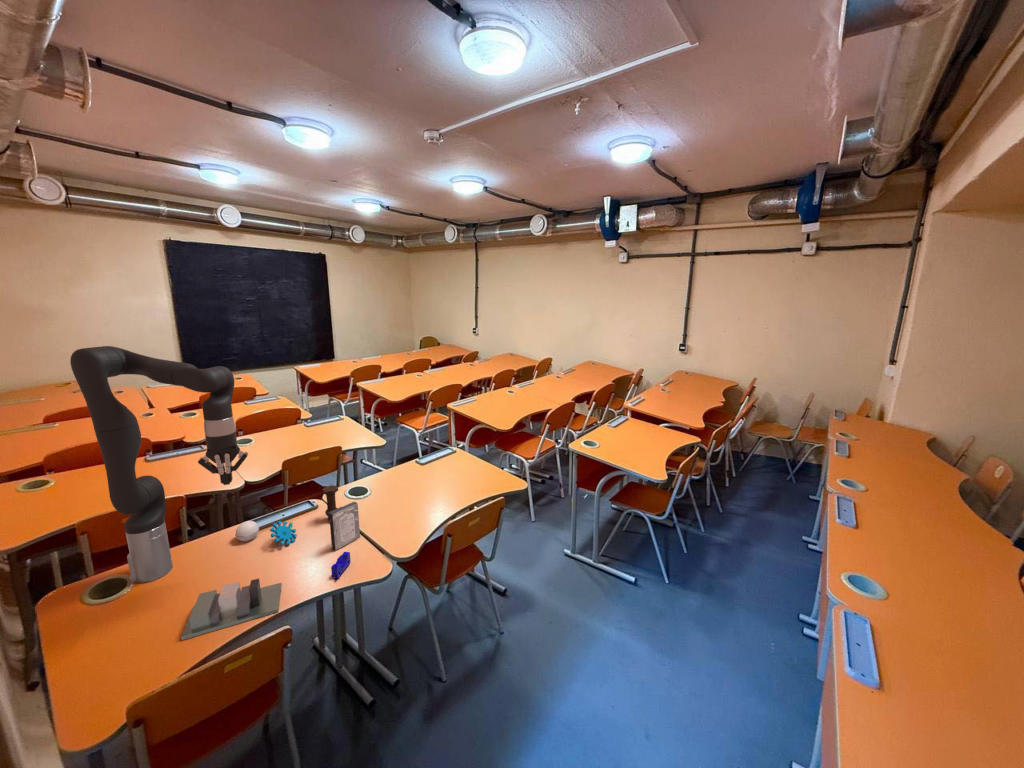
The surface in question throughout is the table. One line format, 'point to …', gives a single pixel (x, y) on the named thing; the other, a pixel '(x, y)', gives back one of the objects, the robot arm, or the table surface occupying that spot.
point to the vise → (209, 618)
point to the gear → (283, 532)
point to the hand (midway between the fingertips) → (227, 483)
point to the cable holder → (340, 564)
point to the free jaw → (248, 598)
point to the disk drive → (344, 525)
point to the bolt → (330, 498)
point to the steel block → (229, 599)
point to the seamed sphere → (247, 531)
